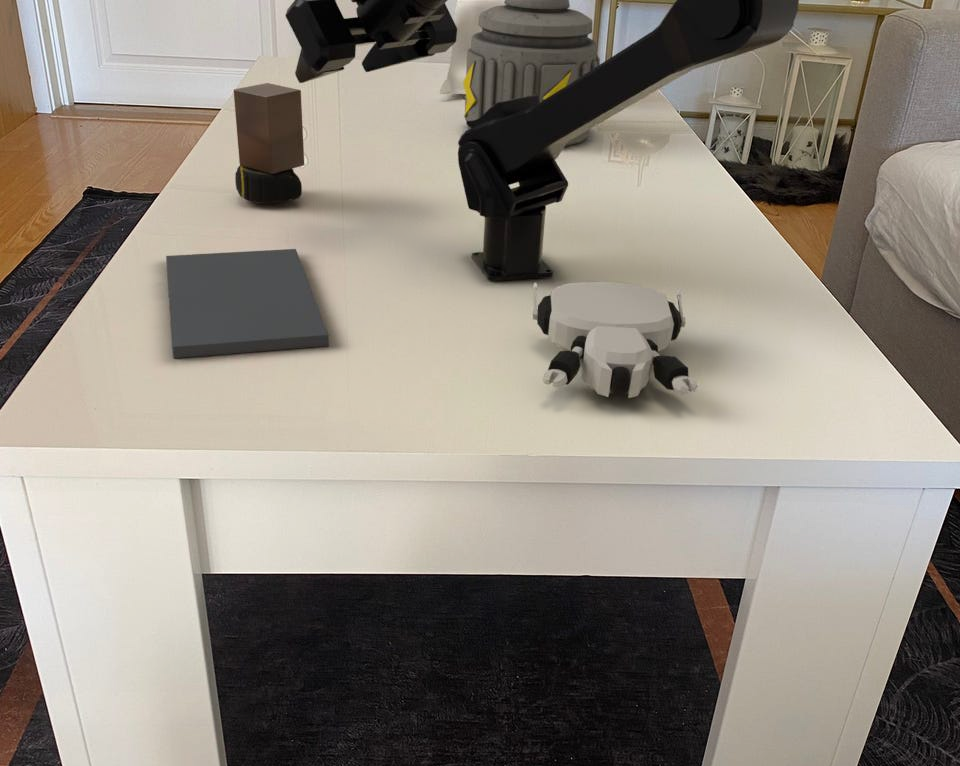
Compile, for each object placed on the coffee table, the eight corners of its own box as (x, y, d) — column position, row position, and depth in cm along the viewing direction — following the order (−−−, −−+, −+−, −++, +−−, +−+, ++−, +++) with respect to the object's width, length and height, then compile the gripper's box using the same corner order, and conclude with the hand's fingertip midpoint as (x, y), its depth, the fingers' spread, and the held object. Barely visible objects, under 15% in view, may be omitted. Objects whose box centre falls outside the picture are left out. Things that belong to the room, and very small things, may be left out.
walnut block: (304, 165, 109) (301, 89, 105) (272, 174, 106) (267, 96, 101) (272, 156, 111) (267, 82, 107) (239, 165, 108) (233, 89, 104)
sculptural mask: (434, 99, 157) (436, -15, 148) (465, 86, 166) (468, -21, 158) (534, 113, 151) (542, -4, 143) (559, 99, 161) (569, -11, 152)
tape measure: (303, 208, 108) (302, 174, 106) (240, 211, 106) (237, 176, 104) (294, 190, 114) (292, 157, 112) (233, 192, 112) (231, 159, 110)
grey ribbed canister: (616, 146, 138) (645, -100, 122) (492, 153, 131) (505, -106, 115) (558, 115, 152) (577, -109, 136) (444, 120, 146) (450, -114, 130)
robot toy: (699, 425, 72) (672, 327, 84) (710, 372, 70) (680, 279, 82) (533, 417, 72) (529, 320, 84) (538, 364, 70) (533, 271, 82)
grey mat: (328, 346, 79) (328, 334, 79) (173, 358, 76) (172, 346, 75) (296, 258, 95) (295, 248, 95) (167, 265, 92) (166, 255, 92)
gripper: (448, -103, 95) (361, -6, 107) (301, -103, 83) (221, 7, 94) (499, 4, 96) (408, 88, 108) (362, 20, 84) (275, 113, 95)
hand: (332, 72), depth 101 cm, fingers open, 9 cm apart
